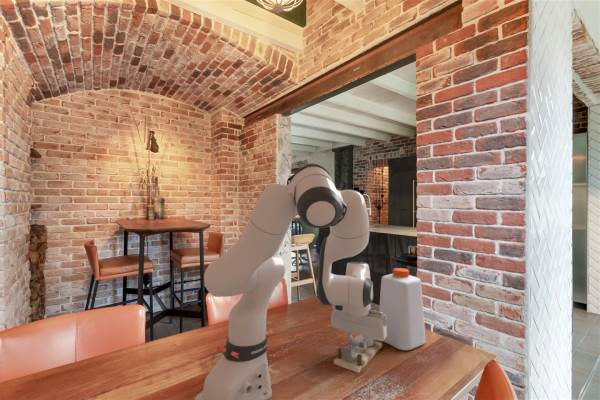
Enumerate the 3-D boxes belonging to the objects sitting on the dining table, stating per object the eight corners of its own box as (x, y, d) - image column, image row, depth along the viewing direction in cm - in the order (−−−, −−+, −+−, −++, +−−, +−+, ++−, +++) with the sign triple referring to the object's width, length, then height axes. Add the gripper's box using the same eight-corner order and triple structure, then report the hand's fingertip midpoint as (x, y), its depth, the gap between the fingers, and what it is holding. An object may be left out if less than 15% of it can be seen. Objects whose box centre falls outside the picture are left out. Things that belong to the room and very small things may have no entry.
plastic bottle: (398, 328, 124) (397, 263, 125) (430, 343, 112) (429, 270, 112) (373, 337, 116) (372, 268, 116) (404, 354, 104) (404, 276, 104)
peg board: (358, 373, 92) (358, 359, 92) (333, 363, 98) (333, 351, 98) (381, 346, 109) (381, 335, 109) (359, 339, 115) (359, 329, 115)
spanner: (356, 363, 94) (356, 351, 94) (339, 357, 98) (339, 345, 98) (378, 341, 110) (378, 330, 110) (362, 336, 113) (362, 326, 114)
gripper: (389, 310, 99) (389, 350, 99) (337, 298, 111) (337, 334, 111) (383, 316, 94) (383, 359, 94) (328, 303, 106) (328, 341, 106)
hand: (357, 345), depth 103 cm, fingers closed on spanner, 3 cm apart
